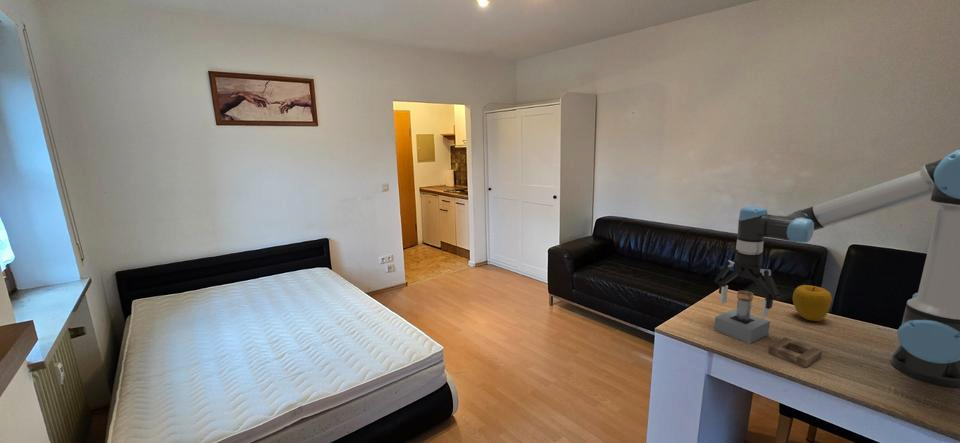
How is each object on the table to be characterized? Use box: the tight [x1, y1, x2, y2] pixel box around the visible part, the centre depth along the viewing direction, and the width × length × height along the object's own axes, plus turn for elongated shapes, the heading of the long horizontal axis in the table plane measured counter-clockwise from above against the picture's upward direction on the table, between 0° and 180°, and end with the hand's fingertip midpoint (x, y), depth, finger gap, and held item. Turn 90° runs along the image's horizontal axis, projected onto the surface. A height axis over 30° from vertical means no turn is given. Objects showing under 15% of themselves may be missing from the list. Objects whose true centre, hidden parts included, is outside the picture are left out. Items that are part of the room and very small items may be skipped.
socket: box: [713, 308, 771, 345], centre depth 137 cm, size 12×12×5 cm
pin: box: [736, 290, 754, 324], centre depth 136 cm, size 5×5×15 cm
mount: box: [767, 337, 823, 369], centre depth 122 cm, size 10×10×2 cm
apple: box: [792, 284, 833, 322], centre depth 144 cm, size 11×11×13 cm
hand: (743, 309), depth 136 cm, fingers open, 13 cm apart
